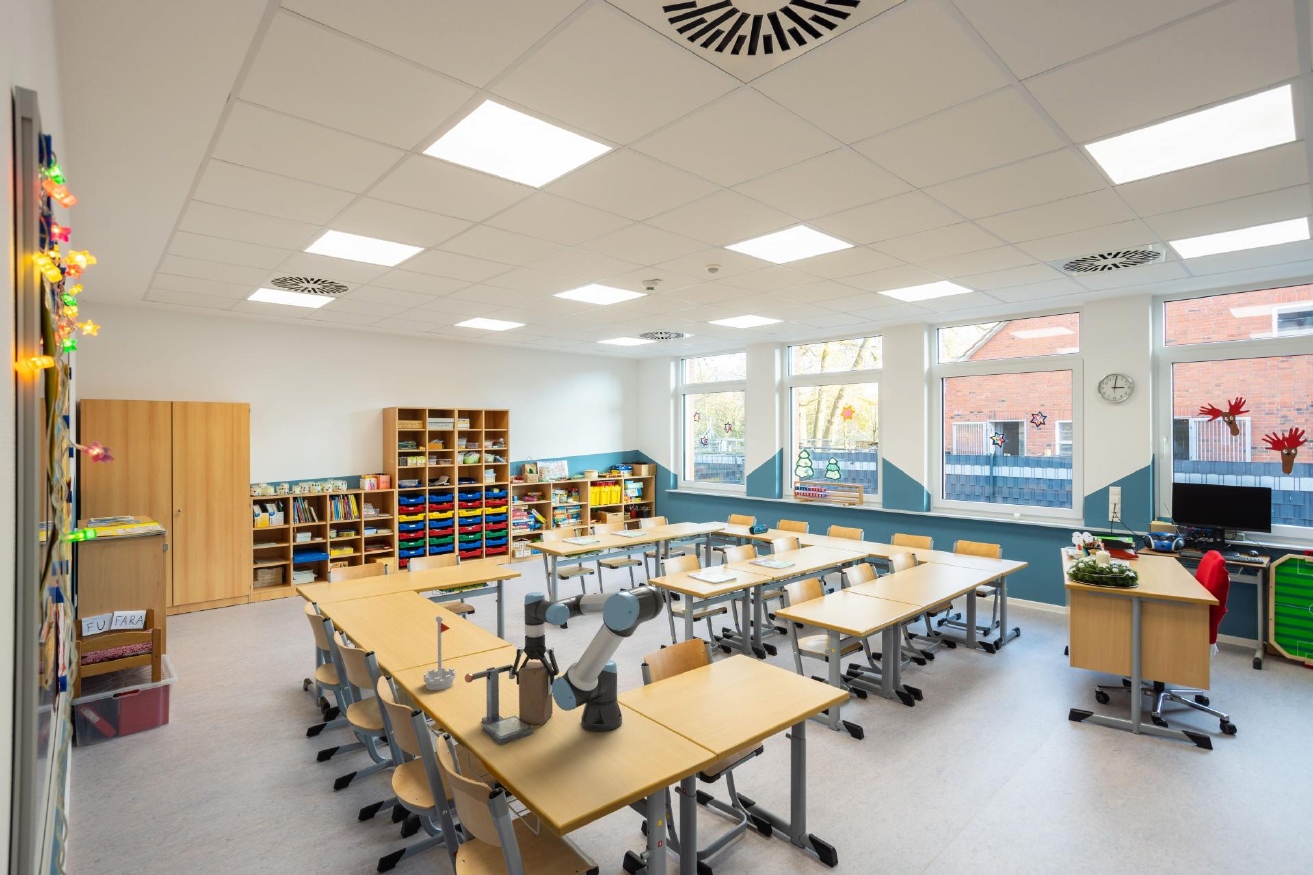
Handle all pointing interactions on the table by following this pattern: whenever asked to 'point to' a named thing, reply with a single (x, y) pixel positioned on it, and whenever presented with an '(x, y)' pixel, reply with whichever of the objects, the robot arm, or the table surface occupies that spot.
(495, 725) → the press
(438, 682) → the flag stand
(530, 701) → the wooden block
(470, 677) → the lever
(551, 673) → the robot arm
